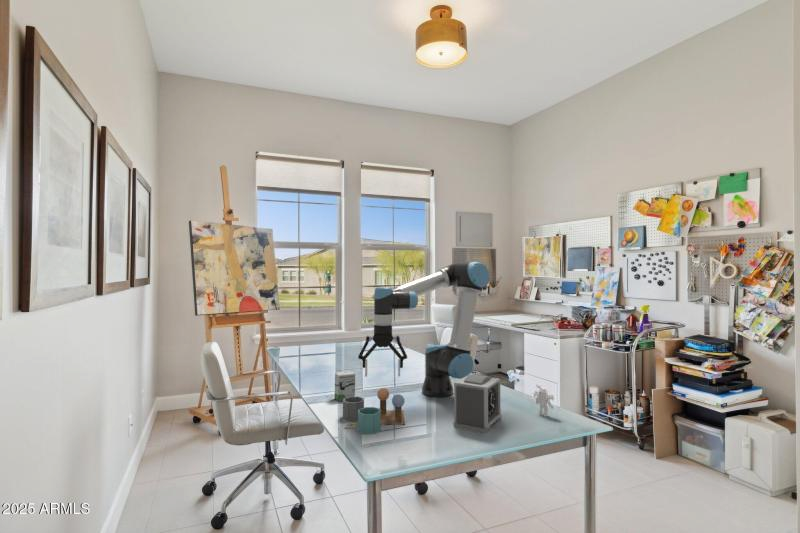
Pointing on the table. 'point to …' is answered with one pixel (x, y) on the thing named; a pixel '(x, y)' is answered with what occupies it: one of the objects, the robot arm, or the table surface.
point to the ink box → (344, 385)
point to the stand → (391, 415)
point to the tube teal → (369, 420)
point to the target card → (351, 425)
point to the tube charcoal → (352, 407)
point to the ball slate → (398, 400)
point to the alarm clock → (476, 403)
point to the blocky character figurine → (543, 400)
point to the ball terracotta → (383, 394)
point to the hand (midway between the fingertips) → (382, 375)
